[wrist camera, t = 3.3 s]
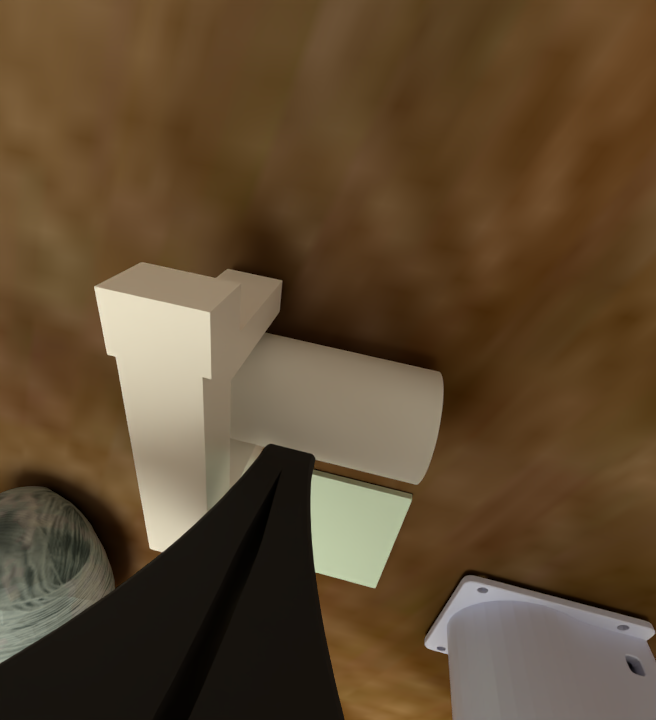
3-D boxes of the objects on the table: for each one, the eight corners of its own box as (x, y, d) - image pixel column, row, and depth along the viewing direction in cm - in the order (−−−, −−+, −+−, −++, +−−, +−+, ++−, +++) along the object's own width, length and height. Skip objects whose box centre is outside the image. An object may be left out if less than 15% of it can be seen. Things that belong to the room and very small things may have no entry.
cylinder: (438, 351, 14) (448, 417, 11) (410, 432, 16) (411, 509, 13) (184, 295, 15) (118, 340, 12) (187, 379, 17) (132, 438, 14)
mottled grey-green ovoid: (-100, 474, 19) (-228, 748, 14) (115, 463, 23) (86, 678, 17) (-11, 546, 29) (-63, 721, 24) (130, 530, 33) (114, 681, 27)
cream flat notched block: (292, 235, 13) (209, 312, 7) (273, 436, 17) (215, 566, 12) (222, 220, 13) (94, 286, 8) (222, 423, 18) (144, 546, 12)
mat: (412, 494, 18) (412, 499, 18) (375, 583, 22) (375, 588, 22) (132, 424, 19) (128, 427, 19) (148, 521, 23) (146, 525, 23)
